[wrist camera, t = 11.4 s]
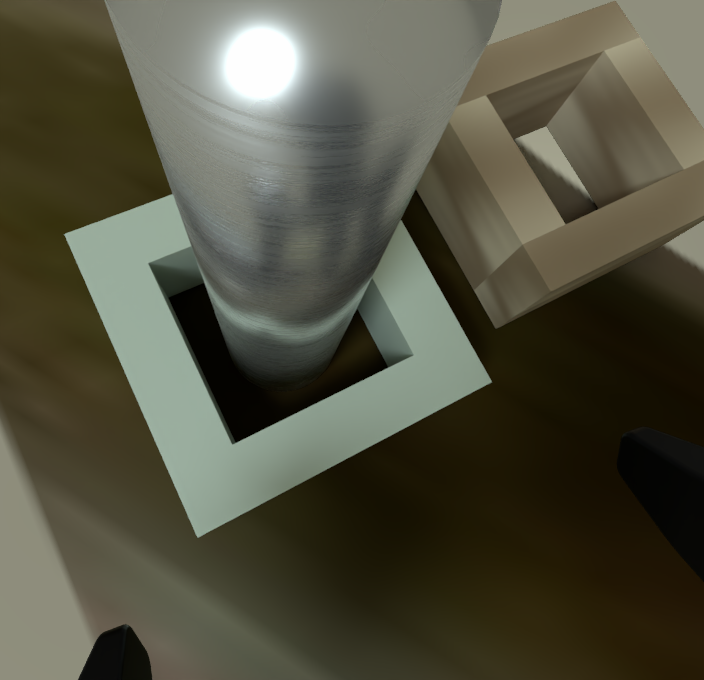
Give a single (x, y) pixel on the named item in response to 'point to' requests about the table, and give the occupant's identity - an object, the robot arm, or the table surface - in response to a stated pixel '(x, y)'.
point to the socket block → (295, 431)
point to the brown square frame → (580, 150)
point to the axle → (295, 149)
